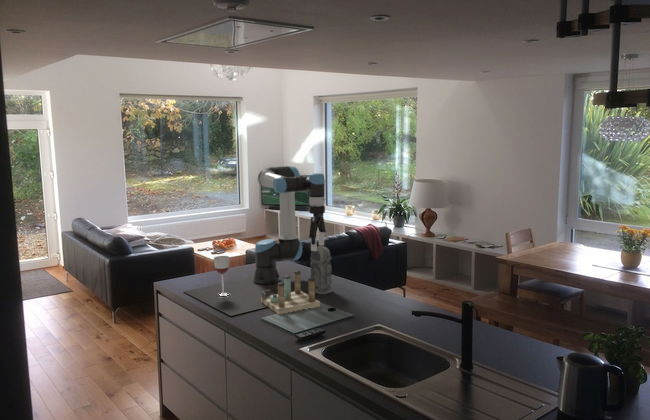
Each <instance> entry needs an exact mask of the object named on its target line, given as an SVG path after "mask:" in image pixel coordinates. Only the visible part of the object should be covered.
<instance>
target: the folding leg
mask: <svg viewBox="0 0 650 420" xmlns="http://www.w3.org/2000/svg"><path fill="white" fill-rule="evenodd" d="M291 278H292V276H291V275H284V276H283V283H284V298H285V299H287V298H291V292H292V286H291V284H292V283H291V280H292V279H291ZM270 302H273V303H276V302H278V296H277V297H273V296H271V297H270Z"/></svg>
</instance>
